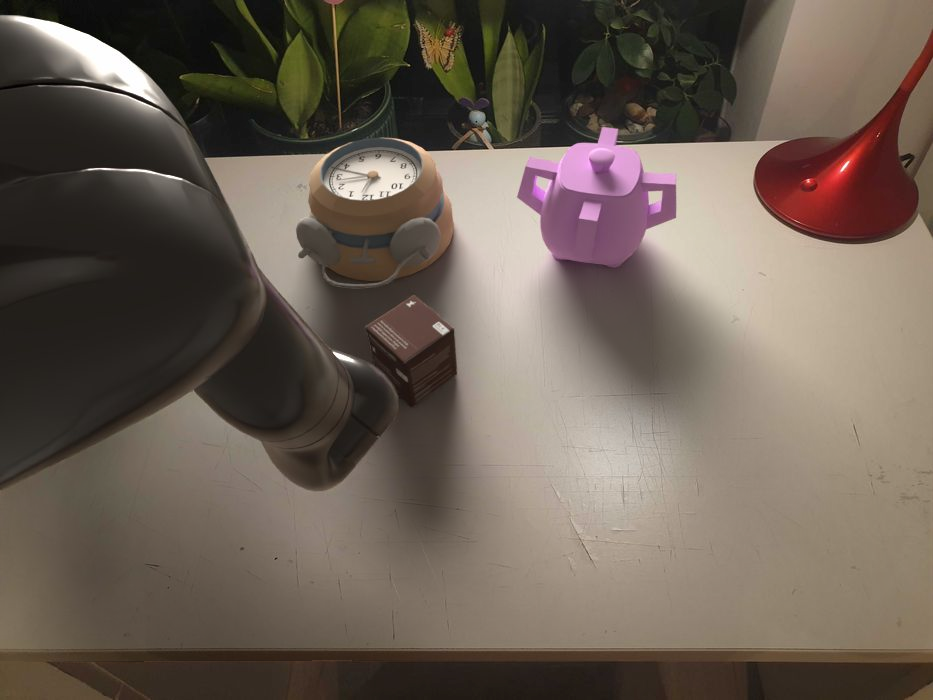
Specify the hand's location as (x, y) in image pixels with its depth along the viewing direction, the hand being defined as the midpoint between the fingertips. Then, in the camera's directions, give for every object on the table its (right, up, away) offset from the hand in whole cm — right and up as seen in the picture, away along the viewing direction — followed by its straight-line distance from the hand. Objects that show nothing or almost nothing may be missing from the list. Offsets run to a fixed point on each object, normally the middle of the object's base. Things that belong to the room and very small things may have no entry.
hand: (116, 240), depth 65 cm
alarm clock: (+24, +1, +13) cm, 28 cm away
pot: (+49, +2, +12) cm, 51 cm away
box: (+30, -13, +1) cm, 32 cm away
